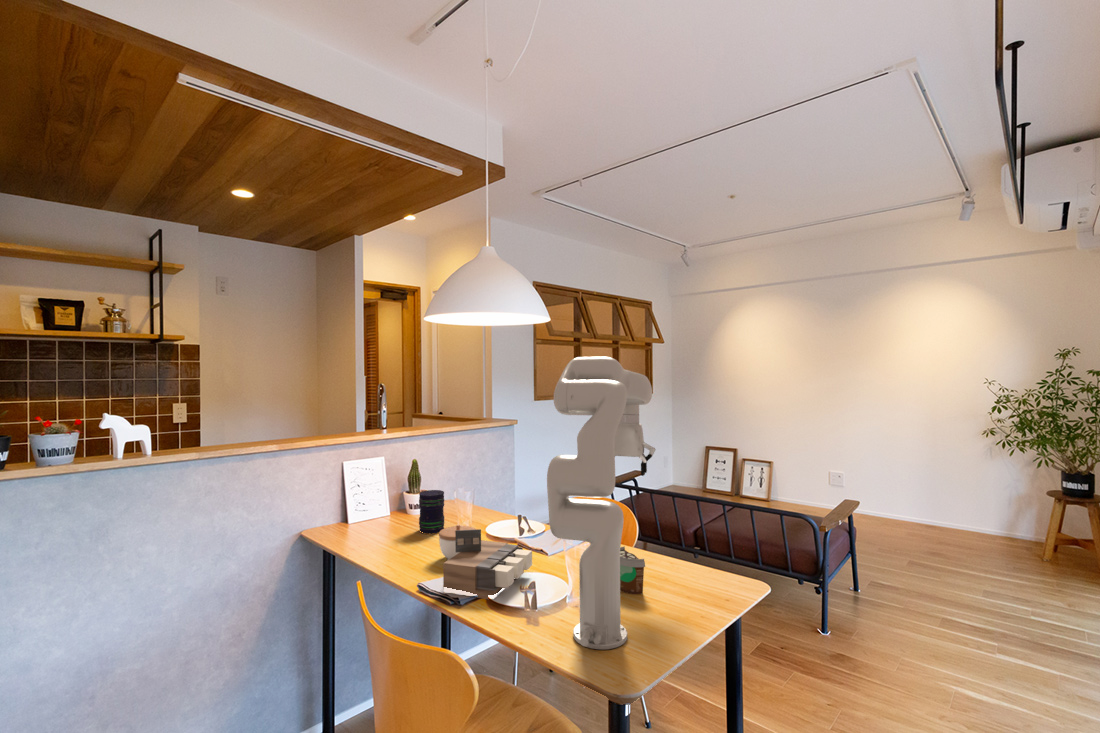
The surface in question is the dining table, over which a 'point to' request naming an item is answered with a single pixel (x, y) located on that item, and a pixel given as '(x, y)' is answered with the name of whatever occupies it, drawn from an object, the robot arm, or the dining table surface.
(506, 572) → the button
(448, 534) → the lidded bowl
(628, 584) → the food container
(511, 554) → the console
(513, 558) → the button mid
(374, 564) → the dining table surface
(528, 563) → the button
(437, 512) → the storage jar
